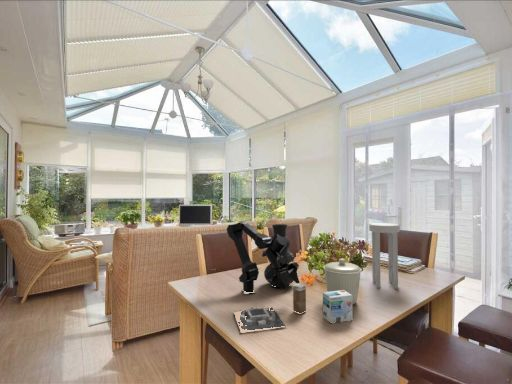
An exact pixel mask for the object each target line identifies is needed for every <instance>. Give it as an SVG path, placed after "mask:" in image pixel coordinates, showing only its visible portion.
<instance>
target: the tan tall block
mask: <svg viewBox="0 0 512 384" xmlns="http://www.w3.org/2000/svg"><path fill="white" fill-rule="evenodd" d="M292 305H293V306H292V307H293V308H292V309H293V310H294V311H296V312H299V313H302V312H304V311H306V312H307V287H306V284H303V283H300V284H299V283H298V284H297V283H295V284H294V285H292ZM293 310H292V311H293Z"/></svg>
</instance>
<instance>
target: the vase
mask: <svg viewBox="0 0 512 384" xmlns="http://www.w3.org/2000/svg"><path fill="white" fill-rule="evenodd" d="M288 226H289V225H288V224H283V223H279V224H277V223H276V224H275V223H274V224H271V227H272V230H273V236H271V237H270V238H271V239H274V237H275V236H276V235H280V236H281V237H283V238H284V239H286V241H287V245H286V246H285V247H284V249H283V250H282V251H281V252H280V253H278V254H279V255H280V256H283V257H285V256H287V254H289V253H292V252H291V251H290V250H289V247H290V246H291V240H290V238H289V237H288V236H287V234H286V233H287V227H288ZM268 262H269V263H270V261H269V260H268ZM290 263H291V262H289V264H290ZM289 264H288V265H289ZM288 265H287V267H288ZM272 268H273V266H270V265H269V264H268V265H267V266H266V267H265V269H264V273H263V275H264V276H263V277H264V279H265V280H266V281H267V283H268V284H269V285H270V284H271V285H273V286H276V287H281V286H279V285H278V284H276V283H274V282H272V281H270V280H267V279H266V273H267V272H268V271H269V270H270V269H272ZM281 278H282V280H283V281H284V283H285V285H286V287H287V286H289V285H290V286H291V284H292V283H294V282H295V281H294V280H293V279H292V278H291V277H290V276H289V275H288V273H287V272H283V273H281ZM271 285H270V286H271ZM273 286H272V287H273ZM290 286H289V287H290ZM287 288H288V287H287Z"/></svg>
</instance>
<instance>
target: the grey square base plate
mask: <svg viewBox="0 0 512 384" xmlns="http://www.w3.org/2000/svg"><path fill="white" fill-rule="evenodd" d="M273 309H274V308H273V307H272V306H271V308H270V311H269V307H264V306H263V307H256V306H255V307H250V308H246V309H244V311H242V310H241V311H242V312H241V315H240V320H241V322H242V323H243V326H241V328H242V329H244V330H245V329H247V330H255V329H263V328H271V327H272V328H273V327H281V326H285V327H286V324H285V323H284V321H283V320H282V319H281V317H280V316H279V315H278V313H277V312H276V310H275V309H274V311H271V310H273ZM245 316H247V317H246V320H245ZM238 323H239V324H240V322H238ZM245 325H247V326H245ZM239 326H240V325H239Z"/></svg>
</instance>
